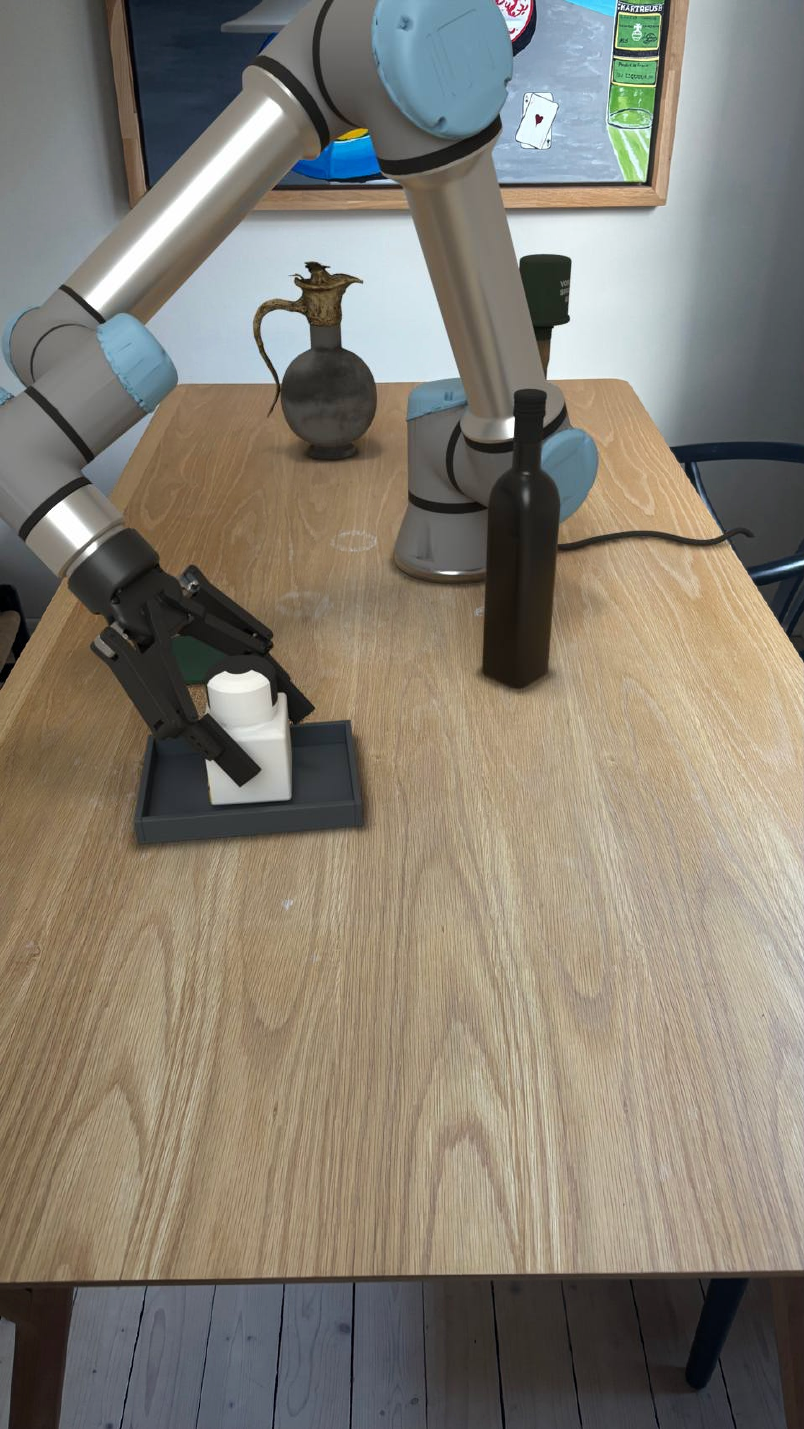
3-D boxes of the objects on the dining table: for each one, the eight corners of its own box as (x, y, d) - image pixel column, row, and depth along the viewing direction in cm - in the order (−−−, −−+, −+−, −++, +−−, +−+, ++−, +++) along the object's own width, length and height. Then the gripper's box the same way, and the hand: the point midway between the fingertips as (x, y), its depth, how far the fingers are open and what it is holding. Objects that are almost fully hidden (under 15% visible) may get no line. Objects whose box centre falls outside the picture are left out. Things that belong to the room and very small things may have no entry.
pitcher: (381, 461, 168) (376, 264, 151) (264, 467, 166) (246, 268, 150) (375, 440, 177) (370, 252, 160) (264, 446, 175) (247, 256, 159)
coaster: (249, 632, 119) (249, 628, 119) (248, 680, 110) (248, 676, 110) (153, 638, 118) (152, 634, 118) (144, 687, 109) (143, 683, 109)
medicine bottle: (215, 759, 96) (199, 648, 89) (292, 755, 96) (281, 643, 90) (210, 807, 90) (192, 691, 83) (291, 801, 91) (280, 686, 84)
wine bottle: (511, 655, 114) (526, 380, 97) (552, 673, 110) (574, 392, 94) (477, 673, 110) (486, 392, 94) (517, 693, 107) (534, 405, 91)
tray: (351, 740, 100) (350, 719, 99) (362, 825, 89) (361, 803, 88) (151, 755, 98) (148, 734, 97) (138, 844, 87) (133, 821, 86)
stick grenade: (558, 463, 166) (572, 263, 150) (504, 460, 168) (513, 262, 151) (561, 446, 173) (576, 253, 157) (510, 443, 175) (520, 252, 158)
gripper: (149, 529, 97) (310, 702, 101) (-12, 635, 80) (189, 838, 84) (190, 482, 92) (357, 665, 96) (29, 584, 75) (239, 802, 79)
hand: (279, 746), depth 90 cm, fingers closed on medicine bottle, 9 cm apart
